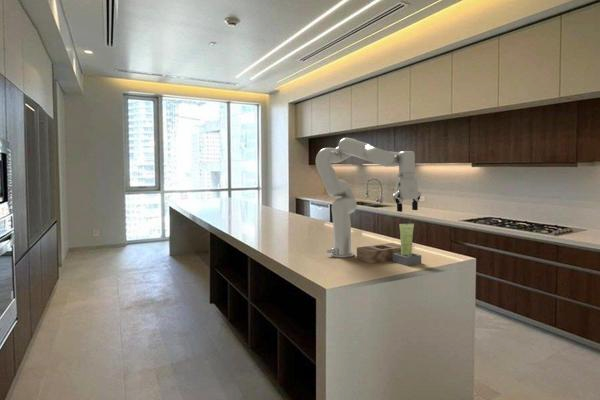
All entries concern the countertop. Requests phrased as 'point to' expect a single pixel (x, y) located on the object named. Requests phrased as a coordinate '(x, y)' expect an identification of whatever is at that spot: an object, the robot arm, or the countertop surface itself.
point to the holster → (406, 259)
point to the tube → (406, 239)
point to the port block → (378, 252)
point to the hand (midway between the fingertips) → (407, 210)
